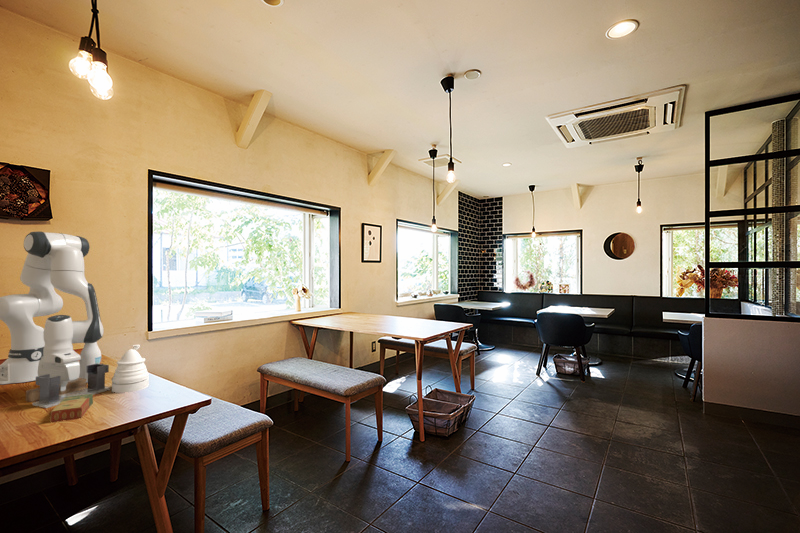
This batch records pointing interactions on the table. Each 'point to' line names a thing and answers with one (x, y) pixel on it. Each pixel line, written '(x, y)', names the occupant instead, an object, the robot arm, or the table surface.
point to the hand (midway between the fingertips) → (57, 389)
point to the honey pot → (130, 373)
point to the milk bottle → (89, 358)
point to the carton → (72, 408)
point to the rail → (70, 387)
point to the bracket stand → (52, 397)
